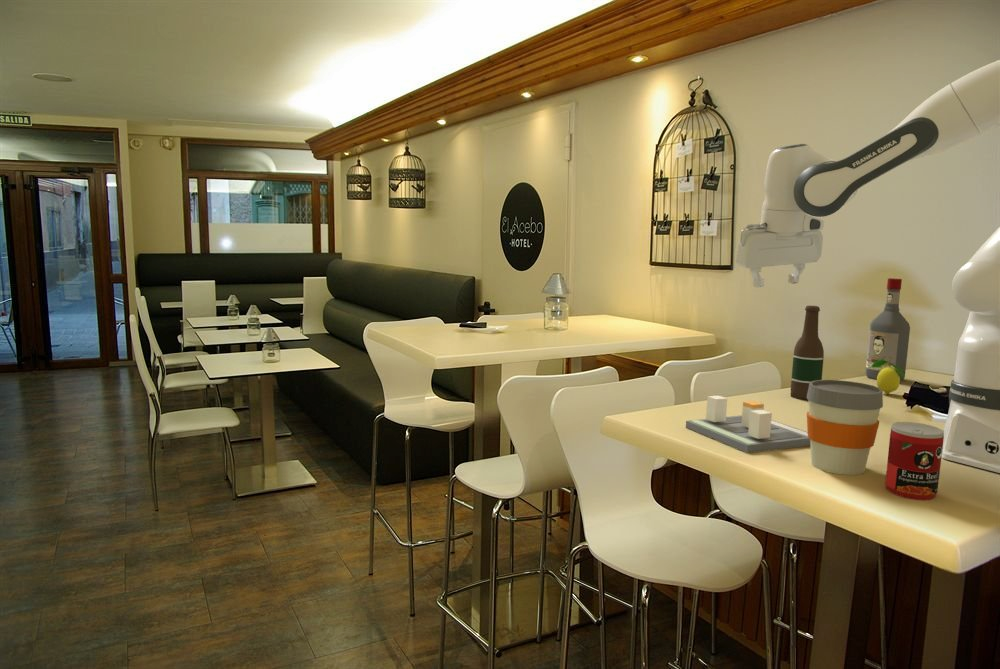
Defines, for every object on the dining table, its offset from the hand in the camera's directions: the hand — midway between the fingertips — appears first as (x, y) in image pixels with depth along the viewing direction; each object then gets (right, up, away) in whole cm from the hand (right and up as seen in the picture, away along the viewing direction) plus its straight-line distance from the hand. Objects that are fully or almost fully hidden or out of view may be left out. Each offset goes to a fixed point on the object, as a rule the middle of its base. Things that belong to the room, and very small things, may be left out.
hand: (775, 284), depth 160 cm
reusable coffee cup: (+1, -35, -27) cm, 44 cm away
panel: (-8, -32, -8) cm, 34 cm away
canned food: (+8, -37, -39) cm, 55 cm away
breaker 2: (-9, -31, -15) cm, 36 cm away
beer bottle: (+19, -28, +30) cm, 45 cm away
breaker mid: (-8, -30, -8) cm, 32 cm away
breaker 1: (-14, -29, -4) cm, 33 cm away
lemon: (+44, -27, +36) cm, 63 cm away
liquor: (+55, -24, +58) cm, 84 cm away
